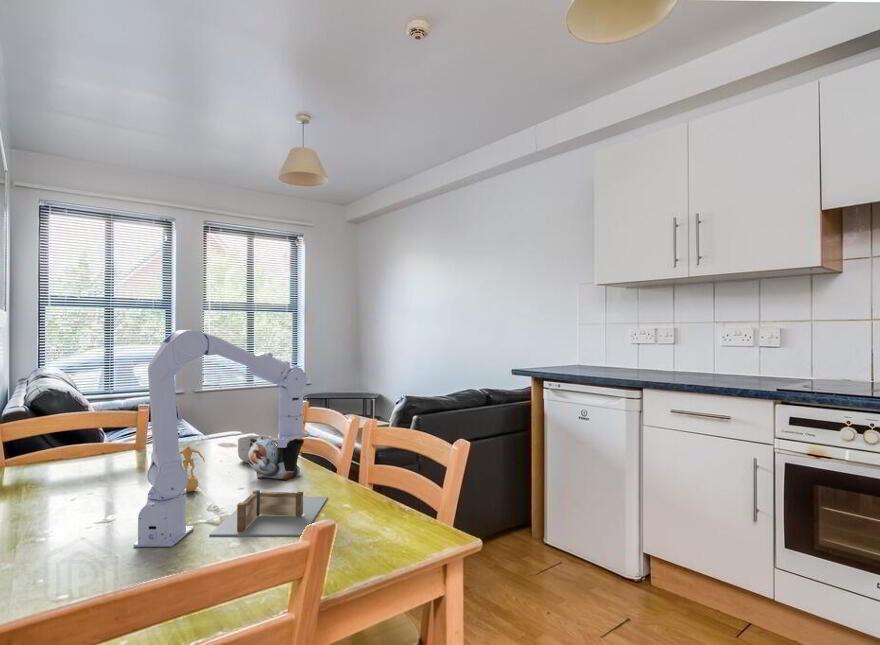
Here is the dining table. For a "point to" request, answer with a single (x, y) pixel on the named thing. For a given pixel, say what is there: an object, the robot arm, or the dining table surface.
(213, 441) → the dining table surface
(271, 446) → the lucky cat figurine
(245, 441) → the teacup
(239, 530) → the fixed fence section
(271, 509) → the post
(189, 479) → the figurine
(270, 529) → the card
